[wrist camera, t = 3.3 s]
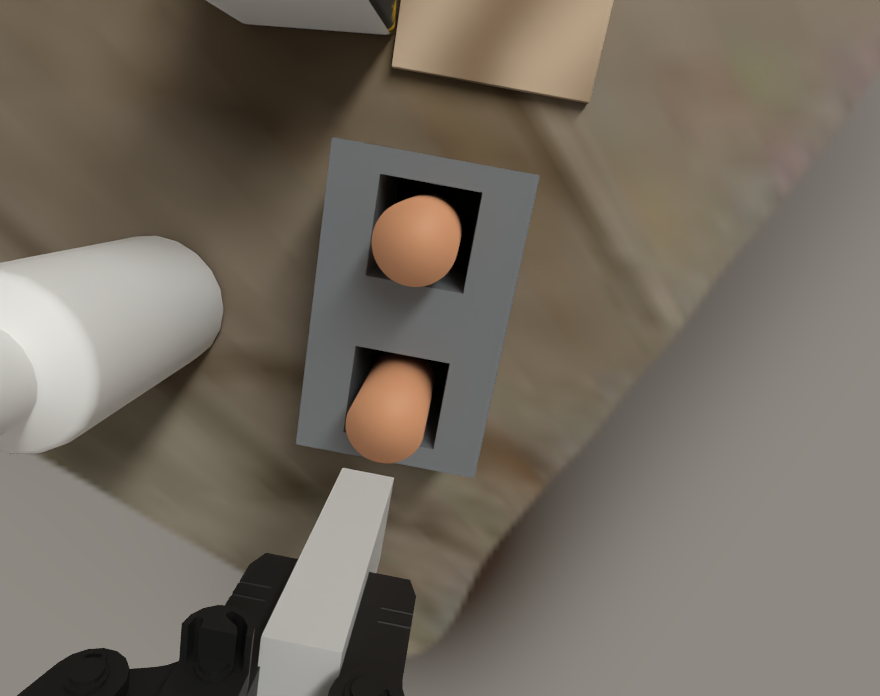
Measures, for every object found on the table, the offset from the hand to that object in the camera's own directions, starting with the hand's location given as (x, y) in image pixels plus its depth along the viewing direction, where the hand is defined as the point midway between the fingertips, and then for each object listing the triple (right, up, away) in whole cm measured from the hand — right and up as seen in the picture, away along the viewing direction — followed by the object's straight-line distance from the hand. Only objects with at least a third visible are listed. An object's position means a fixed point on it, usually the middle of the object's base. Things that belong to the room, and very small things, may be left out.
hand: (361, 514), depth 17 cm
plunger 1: (+2, +10, +9) cm, 13 cm away
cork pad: (+5, +21, +9) cm, 23 cm away
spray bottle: (-12, +7, +14) cm, 20 cm away
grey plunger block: (+1, +8, +13) cm, 15 cm away
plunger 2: (0, +3, +11) cm, 11 cm away
